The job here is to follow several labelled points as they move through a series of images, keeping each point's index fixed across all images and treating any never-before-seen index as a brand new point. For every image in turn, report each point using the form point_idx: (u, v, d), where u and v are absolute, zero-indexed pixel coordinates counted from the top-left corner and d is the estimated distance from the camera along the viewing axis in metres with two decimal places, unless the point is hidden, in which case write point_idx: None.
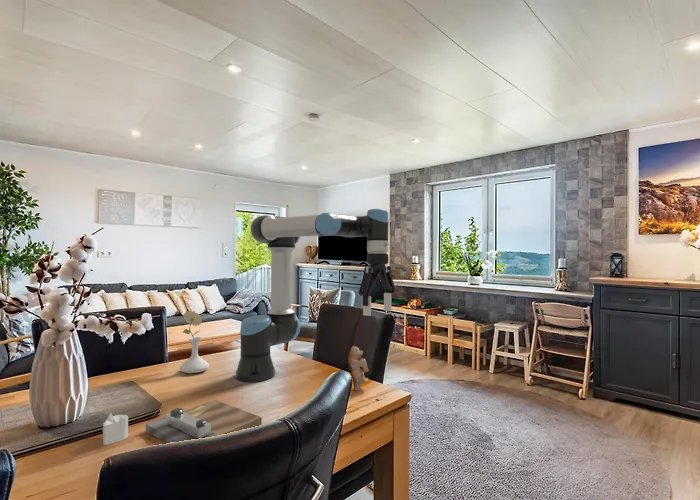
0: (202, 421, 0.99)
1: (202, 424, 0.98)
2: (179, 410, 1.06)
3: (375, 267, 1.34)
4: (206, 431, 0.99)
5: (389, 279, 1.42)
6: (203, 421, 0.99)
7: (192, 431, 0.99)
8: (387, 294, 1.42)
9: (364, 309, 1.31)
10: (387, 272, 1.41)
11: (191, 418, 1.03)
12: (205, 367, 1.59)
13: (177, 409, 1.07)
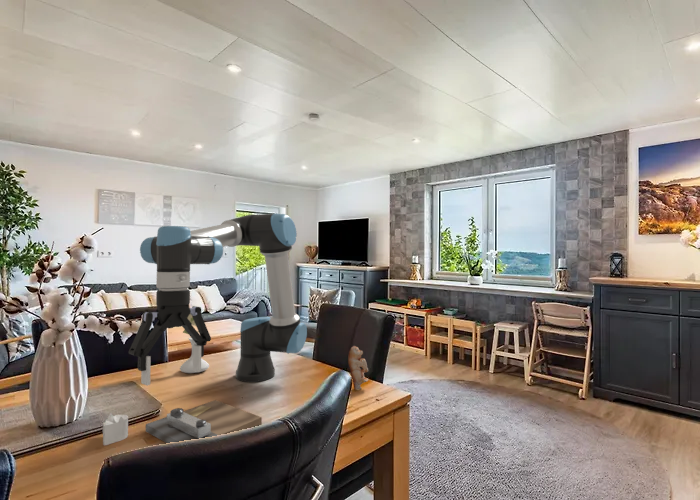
0: (202, 421, 0.99)
1: (202, 424, 0.98)
2: (179, 410, 1.06)
3: (162, 311, 0.92)
4: (206, 431, 0.99)
5: (199, 325, 1.00)
6: (203, 421, 0.99)
7: (192, 431, 0.99)
8: (196, 347, 1.00)
9: (142, 375, 0.90)
10: (195, 315, 0.99)
11: (191, 418, 1.03)
12: (205, 367, 1.59)
13: (177, 409, 1.07)
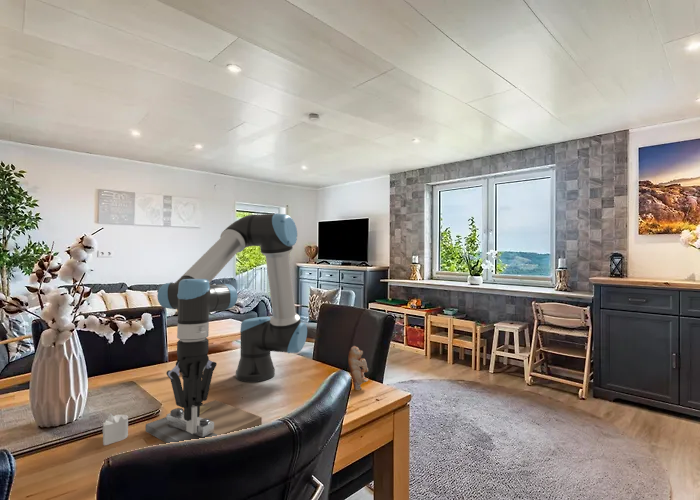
0: (205, 420, 1.00)
1: (206, 422, 0.99)
2: (179, 410, 1.06)
3: (181, 363, 0.96)
4: (210, 430, 1.00)
5: (205, 380, 1.02)
6: (206, 419, 1.00)
7: None
8: None
9: (187, 424, 0.99)
10: (208, 369, 1.03)
11: None
12: None
13: (176, 409, 1.07)
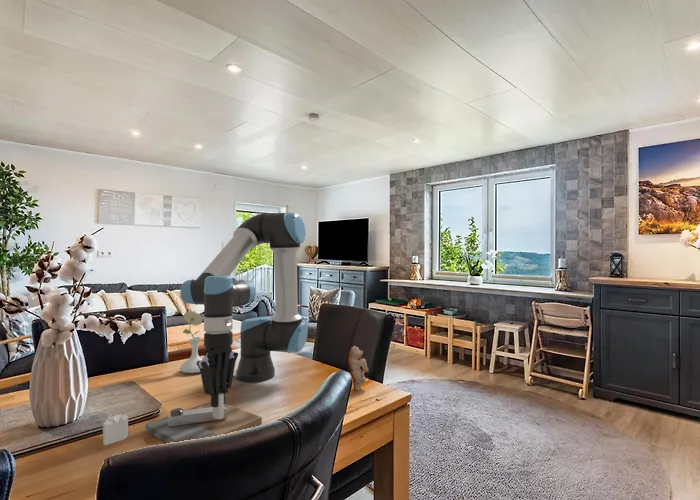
0: None
1: (225, 406, 1.10)
2: (179, 409, 1.07)
3: (210, 353, 1.04)
4: None
5: (229, 369, 1.10)
6: None
7: None
8: None
9: (214, 410, 1.07)
10: (231, 359, 1.11)
11: (199, 409, 1.09)
12: None
13: (173, 410, 1.06)
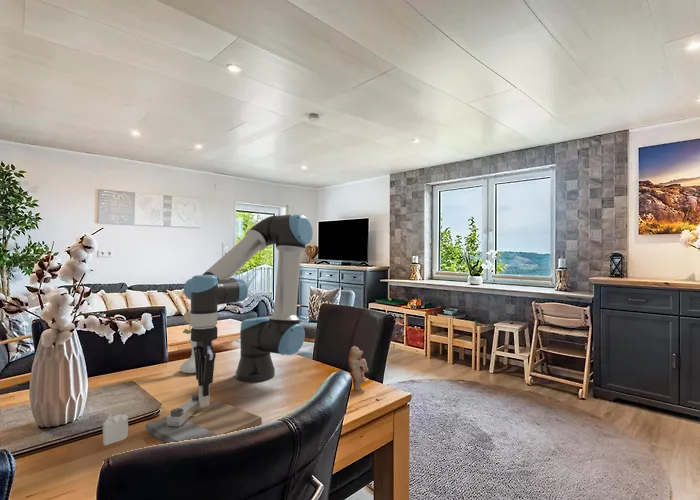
0: (195, 395, 1.18)
1: None
2: (176, 409, 1.07)
3: None
4: None
5: None
6: (195, 395, 1.18)
7: None
8: None
9: (202, 400, 1.15)
10: None
11: (184, 405, 1.12)
12: None
13: (173, 411, 1.05)
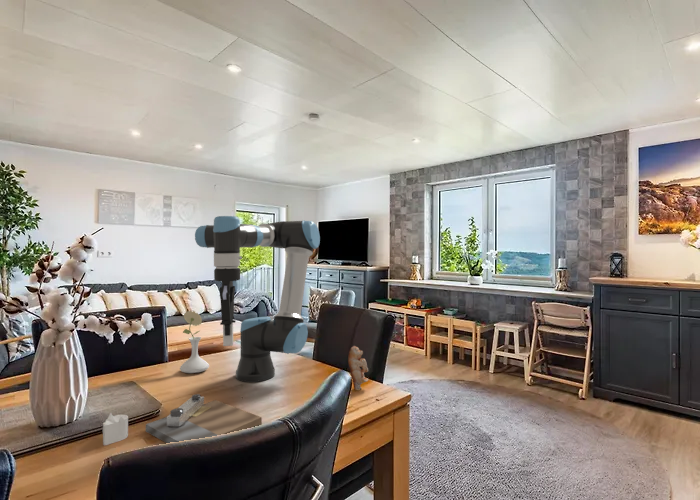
0: (195, 395, 1.18)
1: None
2: (176, 409, 1.07)
3: (229, 286, 1.14)
4: None
5: None
6: (195, 395, 1.18)
7: (200, 404, 1.16)
8: None
9: (225, 339, 1.16)
10: None
11: (184, 405, 1.12)
12: (205, 367, 1.59)
13: (173, 411, 1.05)
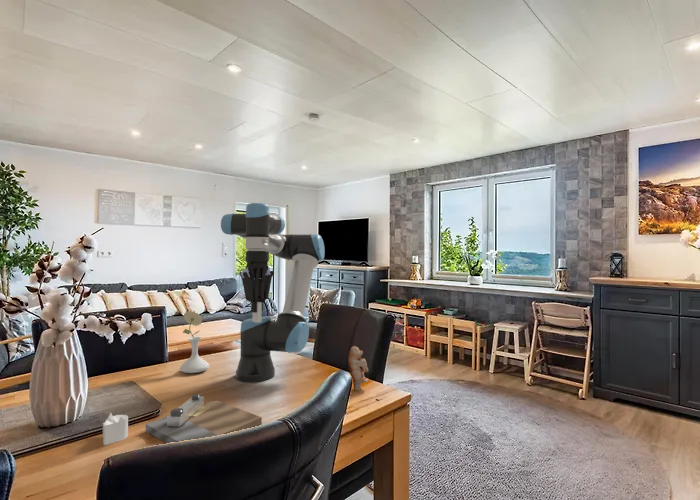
0: (195, 395, 1.18)
1: None
2: (176, 409, 1.07)
3: (250, 266, 1.24)
4: None
5: (266, 284, 1.30)
6: (195, 395, 1.18)
7: (200, 404, 1.16)
8: None
9: (253, 316, 1.27)
10: (268, 275, 1.31)
11: (184, 405, 1.12)
12: (205, 367, 1.59)
13: (173, 411, 1.05)
